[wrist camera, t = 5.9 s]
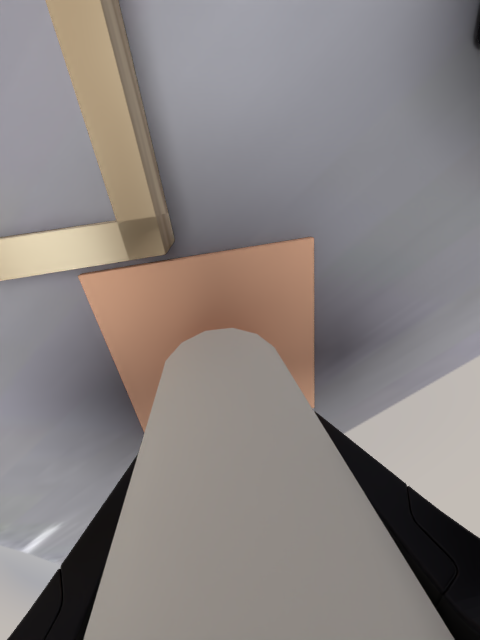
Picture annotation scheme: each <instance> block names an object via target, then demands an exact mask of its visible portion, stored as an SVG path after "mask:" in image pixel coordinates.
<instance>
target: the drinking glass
mask: <svg viewBox="0 0 480 640" xmlns="http://www.w3.org/2000/svg"><path fill="white" fill-rule="evenodd" d="M83 640H455V639H454V638H453V636H452V635H451V633H450V631H449V630H448V628H447V626H446V625H445V623H444V622H443V620H442V618H441V617H440V615H439V613H438V612H437V610H436V609H435V607H434V605H433V604H432V602H431V600H430V599H429V597H428V596H427V594H426V592H425V591H424V589H423V587H422V586H421V584H420V583H419V581H418V579H417V578H416V576H415V575H414V573H413V571H412V570H411V568H410V566H409V565H408V563H407V562H406V560H405V558H404V557H403V555H402V553H401V552H400V550H399V549H398V547H397V545H396V544H395V542H394V540H393V539H392V537H391V536H390V534H389V532H388V531H387V529H386V527H385V526H384V524H383V523H382V521H381V519H380V518H379V516H378V514H377V513H376V511H375V510H374V508H373V506H372V505H371V503H370V501H369V500H368V498H367V497H366V495H365V493H364V492H363V490H362V488H361V487H360V485H359V484H358V482H357V480H356V479H355V477H354V475H353V474H352V472H351V471H350V469H349V467H348V466H347V464H346V463H345V461H344V459H343V458H342V456H341V454H340V453H339V451H338V450H337V448H336V446H335V445H334V443H333V441H332V440H331V438H330V437H329V435H328V433H327V432H326V430H325V428H324V427H323V425H322V424H321V422H320V420H319V419H318V417H317V415H316V414H315V412H314V411H313V409H312V407H311V406H310V404H309V402H308V401H307V399H306V398H305V396H304V394H303V393H302V391H301V389H300V388H299V386H298V385H297V383H296V381H295V380H294V378H293V376H292V375H291V373H290V372H289V370H288V368H287V367H286V365H285V364H284V362H283V360H282V359H281V357H280V355H279V354H278V352H277V351H276V349H275V347H274V346H272V345H271V344H270V343H268V342H267V341H266V340H264V339H263V338H262V337H260V336H259V335H258V334H255V333H251V332H247V331H243V330H239V329H236V328H226V329H217V330H208V331H204V332H202V333H200V334H198V335H196V336H194V337H192V338H190V339H188V340H186V341H184V342H182V343H181V344H180V345H179V346H178V347H177V348H176V350H175V351H174V352H173V353H172V354H171V355H170V356H169V358H168V359H167V360H166V361H165V365H164V368H163V372H162V375H161V379H160V382H159V385H158V389H157V392H156V396H155V399H154V402H153V406H152V409H151V412H150V416H149V419H148V423H147V426H146V429H145V433H144V436H143V440H142V443H141V446H140V450H139V453H138V456H137V460H136V463H135V467H134V470H133V473H132V477H131V480H130V484H129V487H128V490H127V494H126V497H125V500H124V504H123V507H122V511H121V514H120V517H119V521H118V524H117V528H116V531H115V534H114V538H113V541H112V545H111V548H110V551H109V555H108V558H107V561H106V565H105V568H104V572H103V575H102V578H101V582H100V585H99V589H98V592H97V595H96V599H95V602H94V605H93V609H92V612H91V616H90V619H89V622H88V626H87V629H86V633H85V636H84V639H83Z"/></svg>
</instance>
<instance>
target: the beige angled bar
mask: <svg viewBox="0 0 480 640" xmlns="http://www.w3.org/2000/svg"><path fill="white" fill-rule="evenodd" d="M46 4H47V7H48V10H49V13H50V16H51V19H52V22H53V25H54V28H55V31H56V35H57V38H58V41H59V44H60V47H61V50H62V53H63V56H64V59H65V62H66V66H67V69H68V72H69V75H70V78H71V81H72V84H73V87H74V90H75V93H76V97H77V100H78V103H79V106H80V109H81V112H82V115H83V118H84V121H85V124H86V128H87V131H88V134H89V137H90V140H91V143H92V146H93V149H94V152H95V155H96V159H97V162H98V165H99V168H100V171H101V174H102V177H103V180H104V183H105V186H106V189H107V193H108V196H109V199H110V202H111V205H112V208H113V211H114V214H115V217H116V220H115V221H108V222H101V223H94V224H88V225H81V226H74V227H67V228H60V229H54V230H47V231H40V232H33V233H27V234H20V235H13V236H6V237H0V281H3V280H9V279H16V278H22V277H28V276H34V275H41V274H47V273H53V272H60V271H66V270H72V269H78V268H85V267H91V266H97V265H104V264H110V263H116V262H122V261H129V260H135V259H141V258H148V257H154V256H160V255H166V253H167V252H168V250H169V249H170V247H171V246H172V244H173V243H174V241H175V239H174V234H173V230H172V226H171V222H170V217H169V213H168V209H167V205H166V201H165V196H164V192H163V188H162V184H161V179H160V175H159V171H158V167H157V162H156V158H155V154H154V150H153V145H152V141H151V137H150V133H149V128H148V124H147V120H146V116H145V111H144V107H143V103H142V99H141V94H140V90H139V86H138V82H137V77H136V73H135V69H134V65H133V60H132V56H131V52H130V48H129V43H128V39H127V35H126V31H125V26H124V22H123V18H122V14H121V10H120V5H119V1H118V0H46Z"/></svg>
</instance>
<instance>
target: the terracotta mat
mask: <svg viewBox="0 0 480 640" xmlns="http://www.w3.org/2000/svg"><path fill="white" fill-rule="evenodd" d="M78 277H79V280H80V282H81V284H82V287H83V289H84V292H85V294H86V296H87V299H88V301H89V303H90V306H91V308H92V310H93V313H94V315H95V317H96V320H97V322H98V325H99V327H100V329H101V332H102V334H103V336H104V339H105V341H106V343H107V346H108V348H109V351H110V353H111V355H112V358H113V360H114V362H115V365H116V367H117V369H118V372H119V374H120V377H121V379H122V381H123V384H124V386H125V388H126V391H127V393H128V395H129V398H130V400H131V402H132V405H133V407H134V410H135V412H136V414H137V417H138V419H139V421H140V424H141V426H142V428H143V431H144V433H145V429H146V426H147V423H148V419H149V416H150V412H151V409H152V406H153V402H154V399H155V396H156V392H157V389H158V385H159V382H160V379H161V375H162V372H163V368H164V365H165V361H166V360H167V359H168V358H169V356H170V355H171V354H172V353H173V352H174V351H175V350H176V348H177V347H178V346H179V345H180V344H181V343H182V342H184V341H186V340H188V339H190V338H192V337H194V336H196V335H198V334H200V333H202V332H204V331H208V330H217V329H226V328H236V329H239V330H243V331H247V332H251V333H255V334H258V335H259V336H260V337H262V338H263V339H264V340H266V341H267V342H268V343H270V344H271V345H272V346H274V347H275V349H276V351H277V352H278V354H279V355H280V357H281V359H282V360H283V362H284V364H285V365H286V367H287V368H288V370H289V372H290V373H291V375H292V376H293V378H294V380H295V381H296V383H297V385H298V386H299V388H300V389H301V391H302V393H303V394H304V396H305V398H306V399H307V401H308V402H309V404H310V406H311V407H312V408H314V238H313V237H306V238H300V239H294V240H288V241H282V242H275V243H269V244H263V245H257V246H251V247H244V248H238V249H232V250H226V251H219V252H213V253H207V254H201V255H195V256H188V257H182V258H176V259H170V260H163V261H157V262H151V263H145V264H139V265H132V266H126V267H120V268H114V269H107V270H101V271H95V272H89V273H83V274H80V275H79V276H78Z"/></svg>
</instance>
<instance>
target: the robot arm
mask: <svg viewBox="0 0 480 640" xmlns="http://www.w3.org/2000/svg"><path fill="white" fill-rule="evenodd" d="M478 41H479V44H480V24H479V29H478ZM315 414H316V415H317V417H318V419H319V420H320V422H321V424H322V425H323V427H324V428H325V430H326V432H327V433H328V435H329V437H330V438H331V440H332V441H333V443H334V445H335V446H336V448H337V450H338V451H339V453H340V454H341V456H342V458H343V459H344V461H345V463H346V464H347V466H348V467H349V469H350V471H351V472H352V474H353V475H354V477H355V479H356V480H357V482H358V484H359V485H360V487H361V488H362V490H363V492H364V493H365V495H366V497H367V498H368V500H369V501H370V503H371V505H372V506H373V508H374V510H375V511H376V513H377V514H378V516H379V518H380V519H381V521H382V523H383V524H384V526H385V527H386V529H387V531H388V532H389V534H390V536H391V537H392V539H393V540H394V542H395V544H396V545H397V547H398V549H399V550H400V552H401V553H402V555H403V557H404V558H405V560H406V562H407V563H408V565H409V566H410V568H411V570H412V571H413V573H414V575H415V576H416V578H417V579H418V581H419V583H420V584H421V586H422V587H423V589H424V591H425V592H426V594H427V596H428V597H429V599H430V600H431V602H432V604H433V605H434V607H435V609H436V610H437V612H438V613H439V615H440V617H441V618H442V620H443V622H444V623H445V625H446V626H447V628H448V630H449V631H450V633H451V635H452V636H453V638H454V639H455V640H480V538H478V537H477V536H476V535H474V534H473V533H471V532H470V531H468V530H467V529H465V528H464V527H463V526H461V525H459V524H458V523H457V522H456V521H454V520H453V519H451V518H450V517H449V516H447V515H446V514H444V513H443V512H441V511H440V510H439V509H438V508H436V507H435V506H434V505H432V504H431V503H430V502H428V501H427V500H426V499H424V498H423V497H422V496H421V495H419V494H418V493H417V492H416V491H414V490H413V489H412V488H411V487H409V486H407V485H406V483H404V482H403V481H402V480H400V479H399V478H398V477H397V476H396V475H394V474H393V473H392V472H391V471H389V470H388V469H387V468H385V467H384V466H383V465H382V464H380V463H379V462H378V461H377V460H375V459H374V458H373V457H372V456H370V455H369V454H368V453H367V452H365V451H364V450H363V449H362V448H360V447H359V446H358V445H356V444H355V443H354V442H353V441H352V440H350V439H349V438H348V437H347V436H345V435H344V434H343V433H342V432H340V431H339V430H338V429H337V428H335V427H334V426H333V425H332V424H330V423H329V422H328V421H327V420H325V419H324V418H323V417H322V416H320V415H319V414H318V413H316V412H315ZM137 456H138V455H137ZM137 456H136V458H135V459H134V461H133V462H132V463H131V465H130V466H129V468H128V469H127V471H126V472H125V474H124V475H123V476H122V478H121V479H120V481H119V482H118V484H117V485H116V487H115V488H114V489H113V491H112V492H111V494H110V495H109V497H108V498H107V500H106V501H105V503H104V504H103V505H102V507H101V508H100V510H99V511H98V513H97V514H96V516H95V517H94V518H93V520H92V521H91V523H90V524H89V526H88V527H87V529H86V530H85V531H84V533H83V534H82V536H81V537H80V539H79V540H78V542H77V543H76V544H75V546H74V547H73V549H72V550H71V552H70V553H69V555H68V556H67V557H66V559H65V560H64V562H63V563H62V565H61V569H58V570H57V572H56V573H55V575H54V576H53V577H52V579H51V580H50V582H49V583H48V585H47V586H46V588H45V589H44V590H43V592H42V593H41V595H40V596H39V597H38V599H37V600H36V602H35V603H34V604H33V606H32V607H31V609H30V610H29V611H28V613H27V614H26V616H25V617H24V618H23V620H22V621H21V622H20V624H19V625H18V626H17V628H16V629H15V630H14V632H13V633H12V634H11V635H10V637H9V638H8V639H7V640H83V639H84V636H85V633H86V629H87V626H88V622H89V619H90V616H91V612H92V609H93V605H94V602H95V599H96V595H97V592H98V589H99V585H100V582H101V578H102V575H103V572H104V568H105V565H106V561H107V558H108V555H109V551H110V548H111V545H112V541H113V538H114V534H115V531H116V528H117V524H118V521H119V517H120V514H121V511H122V507H123V504H124V500H125V497H126V494H127V490H128V487H129V484H130V480H131V477H132V473H133V470H134V467H135V463H136V460H137Z"/></svg>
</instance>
